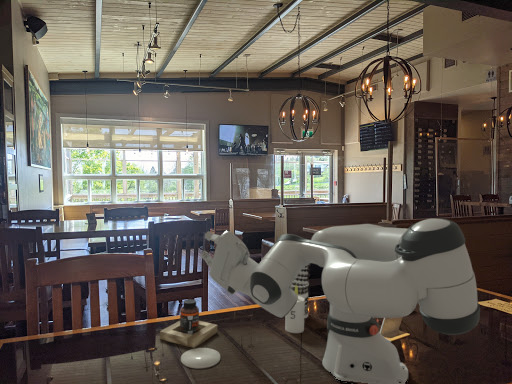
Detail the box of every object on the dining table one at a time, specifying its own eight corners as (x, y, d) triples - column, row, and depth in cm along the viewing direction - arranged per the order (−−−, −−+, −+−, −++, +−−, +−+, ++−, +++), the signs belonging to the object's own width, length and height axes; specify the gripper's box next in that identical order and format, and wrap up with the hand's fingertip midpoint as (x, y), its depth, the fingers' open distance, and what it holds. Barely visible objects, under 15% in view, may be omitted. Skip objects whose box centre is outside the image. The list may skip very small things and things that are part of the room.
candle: (283, 331, 130) (284, 287, 129) (287, 324, 136) (288, 282, 135) (301, 334, 128) (303, 289, 127) (305, 327, 134) (306, 284, 133)
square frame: (217, 332, 128) (217, 324, 128) (194, 348, 117) (194, 339, 117) (185, 324, 134) (185, 317, 134) (160, 339, 123) (160, 331, 122)
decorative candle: (303, 321, 139) (304, 251, 138) (280, 316, 144) (281, 248, 142) (313, 313, 147) (315, 247, 145) (291, 308, 152) (292, 244, 150)
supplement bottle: (194, 340, 122) (195, 305, 121) (176, 338, 123) (177, 303, 123) (201, 332, 128) (201, 298, 127) (184, 331, 129) (184, 297, 128)
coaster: (227, 355, 113) (227, 352, 113) (206, 372, 103) (206, 370, 103) (196, 346, 118) (196, 344, 118) (172, 362, 108) (172, 360, 108)
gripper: (244, 259, 98) (201, 228, 101) (229, 297, 112) (193, 269, 116) (257, 244, 102) (216, 214, 105) (242, 283, 116) (206, 256, 120)
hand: (204, 243), depth 111 cm, fingers open, 8 cm apart
